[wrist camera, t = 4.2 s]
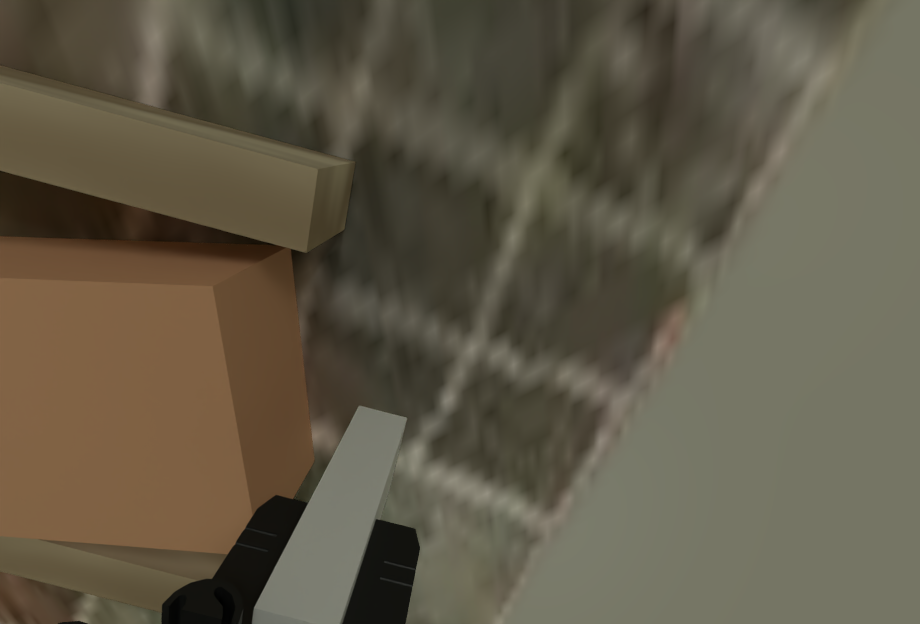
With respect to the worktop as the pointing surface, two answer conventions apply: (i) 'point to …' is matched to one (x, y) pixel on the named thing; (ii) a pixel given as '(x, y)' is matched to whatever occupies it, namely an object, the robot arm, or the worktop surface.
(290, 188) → the chute
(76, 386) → the block
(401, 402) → the worktop surface
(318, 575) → the robot arm
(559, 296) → the worktop surface
